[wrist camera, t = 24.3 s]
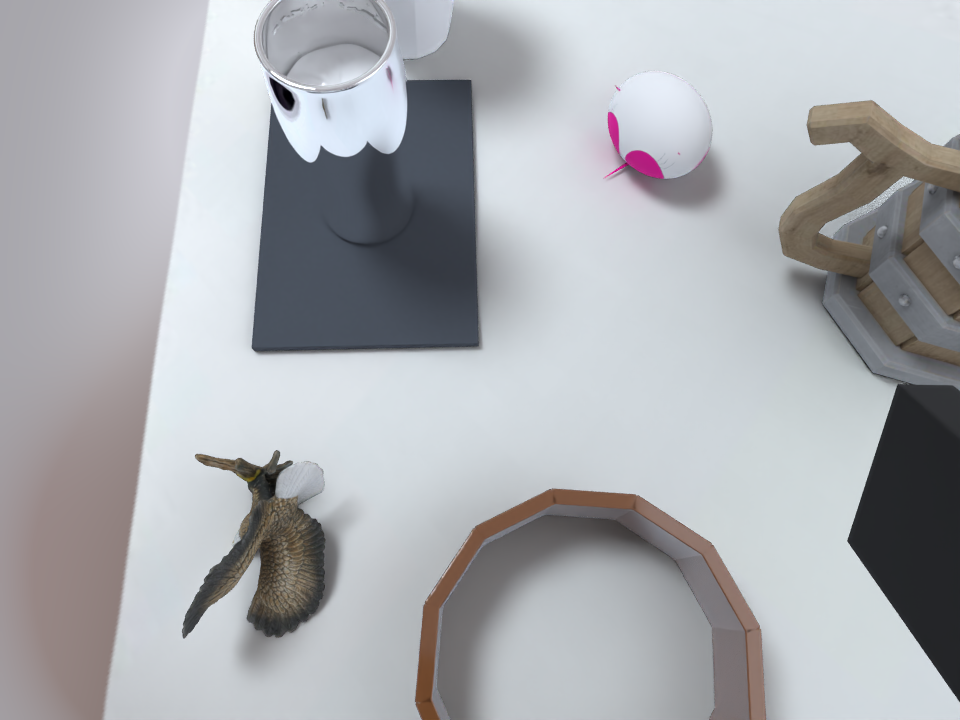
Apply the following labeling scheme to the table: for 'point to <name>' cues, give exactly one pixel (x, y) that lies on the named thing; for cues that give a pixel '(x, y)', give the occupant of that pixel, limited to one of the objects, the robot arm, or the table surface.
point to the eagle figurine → (271, 547)
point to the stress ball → (659, 125)
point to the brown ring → (697, 558)
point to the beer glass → (342, 107)
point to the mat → (375, 246)
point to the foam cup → (421, 25)
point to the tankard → (886, 243)
